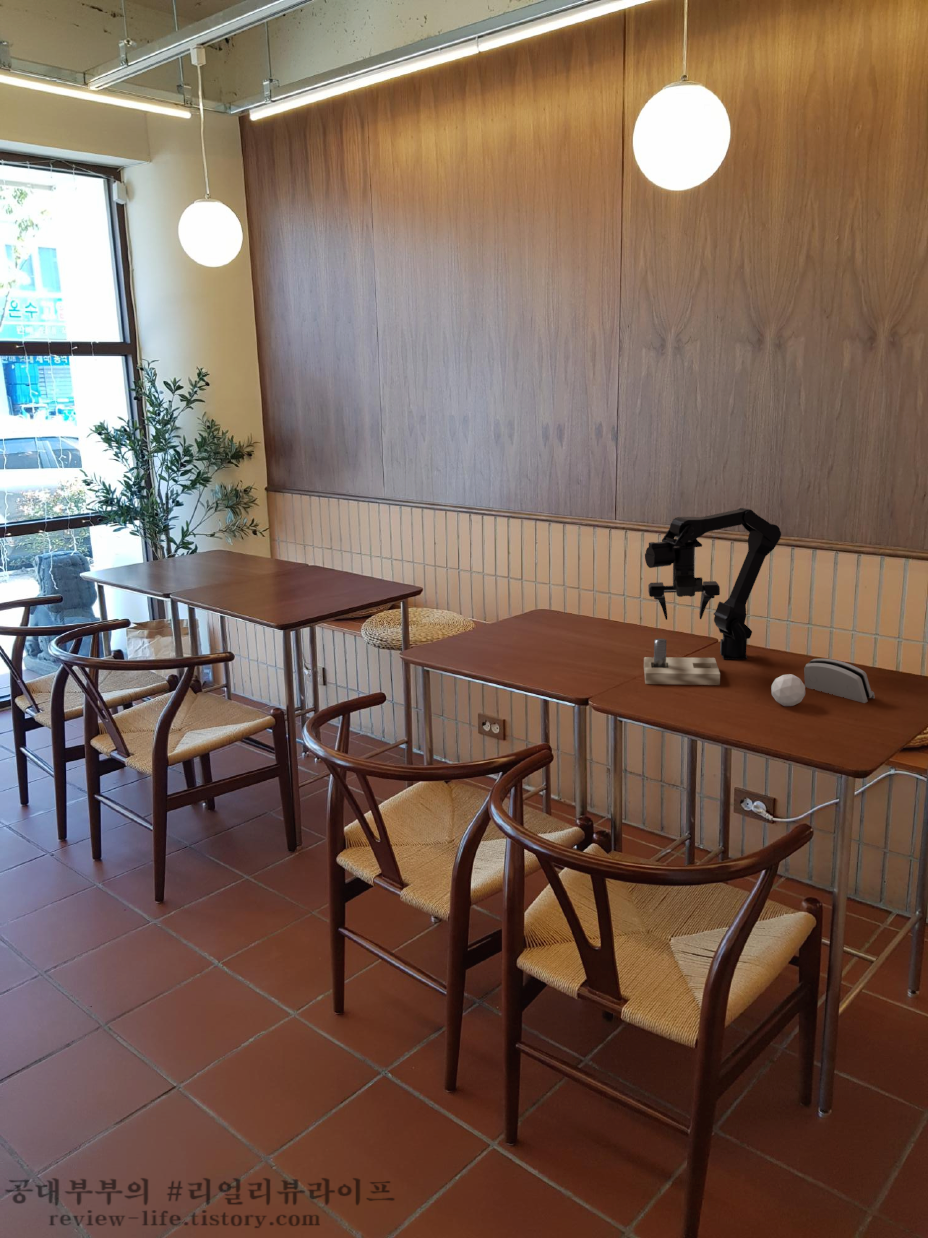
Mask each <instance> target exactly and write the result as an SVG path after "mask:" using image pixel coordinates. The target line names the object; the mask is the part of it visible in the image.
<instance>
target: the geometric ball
mask: <svg viewBox="0 0 928 1238" xmlns="http://www.w3.org/2000/svg"><path fill="white" fill-rule="evenodd" d="M770 688H771V690H770V691H771V696H772V697H773V699H774V700H775V702H776V703H778V704H780V705H782V706H783V707H793V706H795V705H797V704H799V703H801V702H802V701H803V699H804V698H805V696H806V687H805V683H803V681H802V679H801V678H800V677H798V676H796V675H794V673H793V674H790V673H788V674H782V675H780V676H779V677H776V678H775V679H774V680H773V682H772V684H771V686H770Z"/></svg>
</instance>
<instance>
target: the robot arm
mask: <svg viewBox="0 0 928 1238" xmlns="http://www.w3.org/2000/svg"><path fill="white" fill-rule="evenodd" d="M737 526H742V527H743V529H744V530H746V531H747V532H748V538H747V548H748V549H747V553H746V555H745V558H744V561H743V563H742V565H741V568H740V570H739V573H738V575H737V578H736V580H735V582H734V584H733V588H732V589H731V592H730V594H729V597H728V598H727V599H726V600H725V601H724V602H722V601H719V602H718V603H717V606H716V609H715V611H714V612H713V615H714V618H713V622H714V624H715V626H716V628H718V631H719V633H720V634H722V638H721V639H720V641H719V642H720V643H719V644H720V645H719V646H720V647H719V649H720V650H719V653H720V656H722V658H723V660H748V656H747V647H748V646H747V645H748V639H751V636H752V634H753V631H752V629H750V627H749V626H748V625H746V619H747V603H748V601H749V598H750V595H751V592H752V590H753V588H754V586H755V583H756V580H757V578H758V577H759V574H760V572H761V568H762V566H763V564H764V562H765V559H766V557H767V556H768V555H770V553H771V552H773V550H774V549H775V548H776V547H777V544H779V541H780V539H781V537H782V531H781V530H780V527H779V526H778V525H777V524H774V523H770V522H769V521H768V520H766V519H764V518H763V517H761V516H760V515H758V514H757V513H755V512H754V511H753V510H752V509H749V508H746V507H745V508H744V507H740V508H738V509H733V510H730V511H729V510H728V511H725V512H724V511H723V512H719V513H715V514H710V515H706V516H678V517H674V518H673V519H672V521H671V522H670V526H669V528H668V530H667V531H666V533H665V535H664V536H663V537H662V539H661V541H657V542H654V541H650V542H648V547H647V548H646V550H645V552H644V560H645V561H644V562H645V564H646V566H647V568H649V569H653V568H655V569H656V568H662V567H670V566H672V585H664V582H663V581H662V582H660V581H659V582H650V583H649V584H648V587H647V588H648V589H647V591H648V595H649V597H651V598H653V599H654V600H657V601H658V602H659V605H660V606H661V608H662V613H663V615H664V619H665V620H666V621H667V620H668V609H667V603H666V601H667V600H666V597H665V594H666V593H676V596H677V597H679V598H682V597H690V598H691V597H695V596H696V593H701V595H700V605H699V612H698V613H699V615H698V616H699V620H702V618H703V616H704V613H705V610H706V607H707V605H708V603H709V602H710V600H711V599H715V596H720V595H721V594H720V593H721V590H720V589H721V587H720V585H719V583H718V582H717V581H715V580H714V581H713V580H712V581H709V580H708V581H705V580H704V581H703V577H702V576H701V577H700V576H699V577H695V558H696V557H695V550H696V549H695V548H700V547H703V544H702V543H701V542H699V540H698V538H700V537H701V538H702V536H703V535H705V534H707V533H710V532H713V531H718V530H723V529H727V528H731V527H732V528H733V527H737Z"/></svg>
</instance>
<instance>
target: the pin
mask: <svg viewBox="0 0 928 1238" xmlns="http://www.w3.org/2000/svg"><path fill="white" fill-rule="evenodd" d="M653 641H654V643H653V644H654V645H653V657H654V668H666V657H667V639H666V638H655V639H654V640H653Z"/></svg>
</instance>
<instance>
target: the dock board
mask: <svg viewBox="0 0 928 1238" xmlns="http://www.w3.org/2000/svg"><path fill="white" fill-rule="evenodd" d="M643 672H644V683H645V685H692V686H693V685H694V686H695V685H696V686H697V685H699V686H700V685H701V686H703V685H704V686H720V685H721V672H720V669H719V667H718V663H717V661H716V658H715V657H675V656H674V657H672V656H671V657H667V656H666V668H654V656H653V657H651V656H647V657H646V656H645V657H643Z"/></svg>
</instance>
